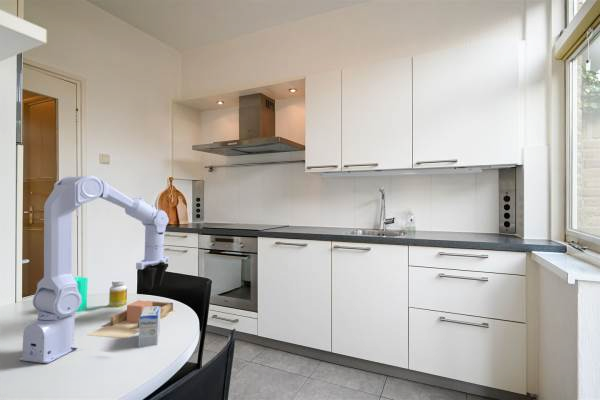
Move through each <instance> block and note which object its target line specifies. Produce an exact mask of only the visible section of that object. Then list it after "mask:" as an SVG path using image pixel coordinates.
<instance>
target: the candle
mask: <svg viewBox="0 0 600 400" xmlns="http://www.w3.org/2000/svg"><path fill="white" fill-rule="evenodd" d="M73 278H74V279H75V280H76V282H77V284H78V291H79V293H80V294H81V297H82V301H81V305H80V307H79V308H78V309H77V311H76V312H75V313H78V312H79V313H80V312H82V311H85V310H87V307H88V277H83V276H78V274H76V277H73Z"/></svg>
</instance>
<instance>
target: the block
mask: <svg viewBox="0 0 600 400" xmlns="http://www.w3.org/2000/svg"><path fill="white" fill-rule="evenodd" d="M151 306H152V300H139V299H138V300H136V301H133V302H132V303H129V304H126V310H127V321H126V322H133V323H138V319H140V315H141V313H142V310H143V308H144V307H151Z"/></svg>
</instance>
